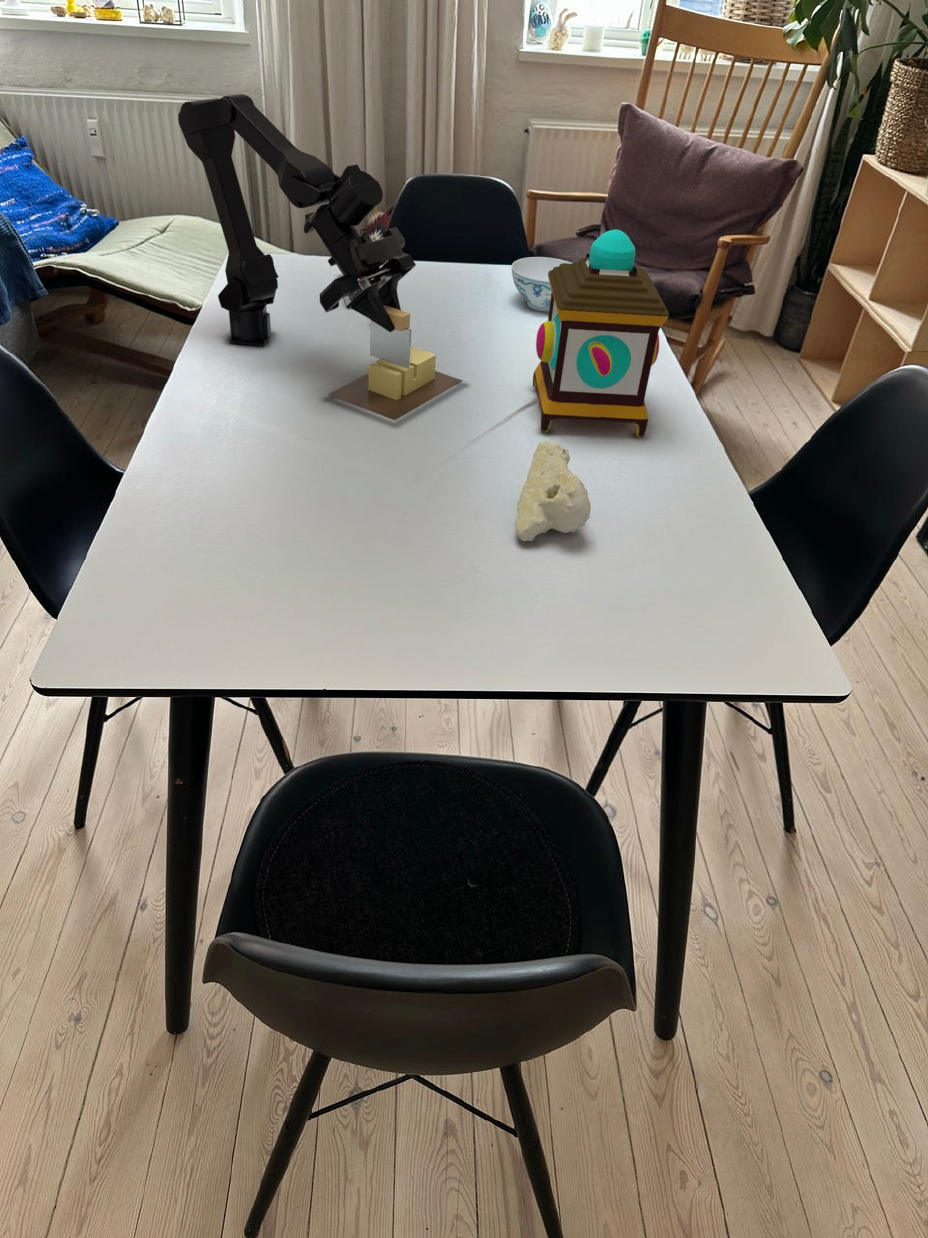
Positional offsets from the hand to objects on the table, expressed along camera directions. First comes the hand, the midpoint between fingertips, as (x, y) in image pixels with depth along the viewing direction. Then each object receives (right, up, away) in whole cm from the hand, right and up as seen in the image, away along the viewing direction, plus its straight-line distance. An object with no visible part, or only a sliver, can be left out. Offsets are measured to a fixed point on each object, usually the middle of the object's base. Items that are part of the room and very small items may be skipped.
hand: (397, 328), depth 148 cm
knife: (-2, -4, +4) cm, 6 cm away
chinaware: (+28, +19, +47) cm, 58 cm away
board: (-1, -8, +10) cm, 13 cm away
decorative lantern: (+32, -12, +9) cm, 35 cm away
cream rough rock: (+22, -32, -18) cm, 43 cm away
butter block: (+1, -6, +11) cm, 12 cm away
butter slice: (-3, -9, +7) cm, 11 cm away
